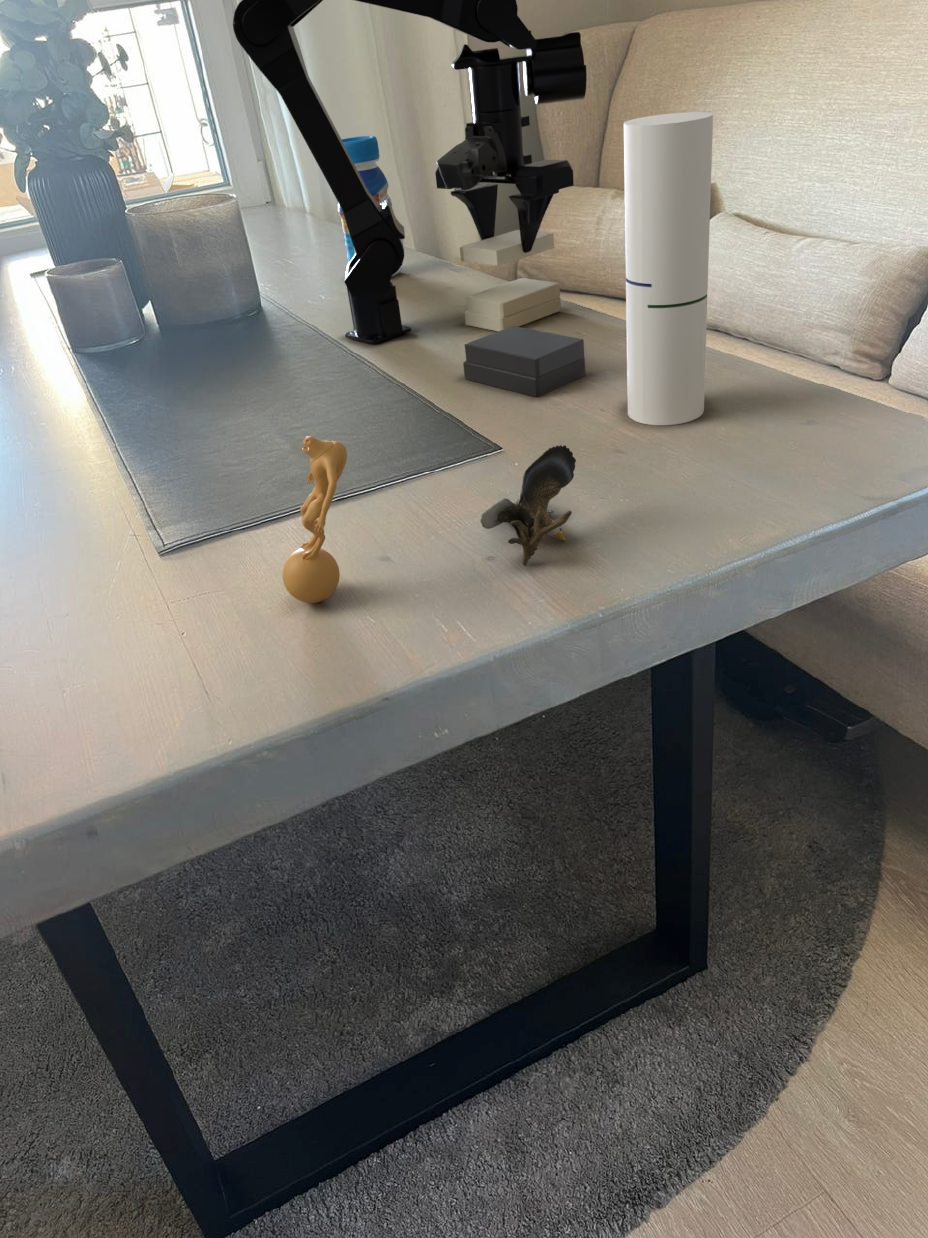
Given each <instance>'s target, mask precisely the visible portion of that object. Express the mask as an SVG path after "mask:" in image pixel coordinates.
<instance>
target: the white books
mask: <svg viewBox="0 0 928 1238" xmlns="http://www.w3.org/2000/svg"><path fill="white" fill-rule="evenodd" d="M561 299H562V298H561V284H560V283H559V282H553V281H546V280H539V279H532V278H527V277H526V278H525V277H519V278H516V279H514V280H511V281H508V282H505V283H503V284H499V285H497V286H493V287H491V288H487V289H484V290H482V291H478V292H476V293H472V294H470V295H467V296H465V303H466V310H464V318H465V325H466V326H469V327H474V328H480V329H484V330H489V331H494V332H498V331H501V330H504V329H506V328H509V327H512V326H516V327H521V326H524V325H527V324H530V323H531V322H535V321H537V320H540V319H543V318H545V317H548V316H551V315H553V314H556V313H559V312H561V311H562V304H561V303H562V300H561Z"/></svg>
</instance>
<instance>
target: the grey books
mask: <svg viewBox="0 0 928 1238" xmlns="http://www.w3.org/2000/svg"><path fill="white" fill-rule="evenodd" d="M464 351H465V361H463V362H462V364H463V374H464V379H465V380H468V381H473V382H476V383H480V384H484V385H487V386H491V387H494V388H500V389H504V390H507V391H511V392H516V393H519V394H523V395H527V396H531V397H534V398H538V397H540V396H541V397H542V395H546V394H547V393H549V392H552V391H554V390H556V389H559V388H561V387H563V386H566V385H567V384H570V383H573V382H575V381H577V380H579V379H582V378H584V377H586V359H585V340H584V338H579V337H574V336H568V335H563V334H557V333H552V332H547V331H543V330H542V331H541V330H537V329H532V328H526V327H521V326H519V327H516V326H512V327H509V328H506V329H504V330H501V331H495V332H494V333H493V332H492V333H491V334H488V335H485V336H483V337H480V338H478V339H475V340H472V341H469V342H467V343H464Z"/></svg>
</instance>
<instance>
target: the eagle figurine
mask: <svg viewBox="0 0 928 1238" xmlns="http://www.w3.org/2000/svg"><path fill="white" fill-rule="evenodd" d="M573 455H574V453H573V452H572V451H571V450H570V448H569V447H567V445H561V444H560V445H555V446H552V447H549V448H548V449H547V450H545V451H544V452H543V453H542V454H541V455H540V456H539V457H538V458H537V459H535V460H534V461H533V462H532V463H531V465H529V466H528V467H527V469H526V470H525V471H524V473H523V476H522V484H521V489H520V494H519V498H518V499H517V500H516V501H515V502H512V500H510V499H509V498H502V499H501V500H498V501H496V502H495V503H494V504H492V505H491V506H490V507H488V508H487V509H486V510H484V511H483V512H482V513H481V516H480V517H481V518H480V519H479V521H480V523H481V526H482V528H484V529H485V530H490V529H493V528H496V527H497V526H499V525H501V524H503V523H507V524H510V525H511V526H512V528H513V529H514V530H515V533H516V536H517V537H512V538H509V539H508V540H507V544H510V545H515V544H518V545H521V546H522V560H521V561H522V562H521V563H522V565H523V566H527V565H528V563H529V561H530V560H531V557H534V556H535V553H536V551H537V550H538V547H539V545H540V543H541V542H542V540H543V539H544V538H545V536H546V535H549V536H550V537H554V538H557V539H559V540H561V541H562V542H566V538H565V536H564V535H563V529H562V527H561V526H563V525H564V524H566V523H567V521H568V520H569V518H570V517H571V516H572V513H573V511H572V510H567V511H566V512H564V513H563V514H562V515H561V516H560V517H557V518H556V519H555V520H553V519H552V518H551V517H550V514H553V513H554V512H555V511H554V510H548V506H549V503H550V502H551V500H552V499H554V498H555V497H556V496H557V495H559V493H560V492H561V490H562V489H563V488H566V487H567V485H569V484H570V483H571V482H572V480H573V479H574V477H575V474H574V472H575V469H576V462H577V459H576V458H575V457H574V456H573Z"/></svg>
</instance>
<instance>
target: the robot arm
mask: <svg viewBox="0 0 928 1238" xmlns="http://www.w3.org/2000/svg"><path fill="white" fill-rule="evenodd" d="M323 1H324V0H241V1H240V2H239V3H238V4H237V6H236V8H235V10H234V12H233V19H232V29H233V33H234V35H235V38H236V40H237V42H238V44H239V45H240V47H241V48H242V49H243V51H245V52H246V54H247V55H248V57H249V58H250V59H251V61H252V62H253V64H254V65H255V66H256V68H257V69H258V70H259V71H260V72H261V73H262V75H263V76H264V77H265V78H266V79H267V81H268V82H269V83H270V84H271V85H272V86H273V88H274V89H275V90H276V91H277V93H278V94H279V96H280V97H281V99H282V101H283V103H284V105H285V106H286V108H287V111H288V112H289V114H290V116H291V117H292V119H293V121H294V123H295V126H296V127H297V129H298V131H299V132H300V134H301V136H302V139H303V140H304V142H305V143H306V145H307V147H308V149H309V151H310V153H311V154H312V156H313V158H314V160H315V162H316V164H317V166H318V167H319V169H320V171H321V173H322V175H323V177H324V178H325V180H326V182H327V184H328V186H329V188H330V189H331V192H332V194H333V195H334V197H335V199H336V201H337V204H340V206H341V208H342V211H343V214H344V217H345V220H346V224H347V227H348V231H349V234H350V237H351V240H352V243H353V246H354V249H355V252H356V254H355V255H354V257H353V258H352V260H351V261H350V262H349V263H347V265H346V271H345V276H344V285H345V286H346V290H347V297H348V302H349V308H350V314H351V320H352V325H353V326H352V327H353V330H351V331H347V332H345V333H344V338H347V339H351V340H354V341H358V342H363V343H366V344H371V345H373V344H374V345H375V344H378V343H381V342H384V341H387V340H390V339H393V338H395V337H399V336H401V335H404V334H407V333H409V332H412V327H411V326H408V325H403V323H402V315H401V309H400V303H399V299H398V294H397V287H396V285H395V284H394V282H393V281H392V278H393V276H392V275H393V274H395V273H396V272H397V271H398V270H399V269H401V267H402V266H403V263H404V259H405V243H404V240H405V238H406V232H405V227H404V225H403V224H401V222H399V220H398V218H397V216H396V215H395V212H394V209H393V205H392V206H391V203H390V200H389V199H386V200H385V201H384V202H383V203H382V204H381V205H380V204H379V203H378V202H377V201H376V199H375V198H374V197H373V196H372V195H371V193H370V192H369V191H368V189H367V188H366V186H365V184H364V182H363V180H362V178H361V176H360V174H359V172H358V170H357V168H356V166H355V164H354V163H353V161H352V159H351V157H350V155H349V153H348V151H347V149H346V147H345V145H344V143H343V141H342V140H341V139H342V138H341V136H340V134H339V132H338V130H337V128H336V126H335V124H334V123H333V121H332V119H331V117H330V115H329V112H328V111H327V109H326V107H325V105H324V103H323V101H322V99H321V96H320V95H319V93H318V92H317V90H316V87H315V86H314V84H313V82H312V80H311V77H310V76H309V73H308V70H307V66H306V62H305V60H304V57H303V56H304V55H303V53H302V50H301V46H300V44H299V40H298V37H297V34H296V32H295V29H294V27H295V26H296V25H297V24H299V23H300V22H301V21H302V20H303V19H304V18H306V16H308V15H309V14H310V13H311V12H312V11H313V10H315V9H316V8H317V6H319V5H320V4H321V3H322V2H323ZM353 1H354V2H359V3H363V4H368V5H372V6H376V7H380V8H385V9H389V10H393V11H399V12H403V13H407V14H412V15H416V16H421V17H424V18H429V19H431V20H433V21H436V22H438V23H440V24H442V25H445V26H447V27H449V28H451V29H453V30H455V31H457V32H460V33H462V34H464V35H466V36H468V37H471V38H473V39H476V40H477V41H480V42H483V43H497V42H500V43H502V44H503V45H505V46H506V47H508V48H510V49H514V50H519V51H520V50H526V54H523V55H516V56H515V55H514V56H507V57H501V56H500V51H499V48H497V47H493V48H485V49H476V50H472V49H471V48H470V47H469V45H468V44H467V43H463V44H462V47H461V49H460V52H459V54H458V55H457V57H456V58H455V59H454V60H453V61H452V63H451V67H452V68H453V69H454V70H456V71H458V70H468V73H469V85H470V97H471V98H470V99H471V108H472V119H473V121H471V122H466V123H465V125H466V126H465V128H464V135H465V138H464V140H462V142H460V143H458V144H456V145H455V146H453V147H452V148H451V149H450V150H448V151H447V152H446V153H445V154H443V155H442V156H441V157H440V158H439V159H437V161H436V165H437V168H436V170H435V172H434V174H435V183H436V189H439V190H440V189H441V190H451V191H449V195H450V196H452V197H455V198H457V200H459V201H460V202H461V203H463V204H464V205H465V206H466V208H467V210H468V212H469V214H470V216H471V218H472V221H473V224H474V226H475V229H476V231H477V233H478V236H479V238H480V239H481V240H484V239H488V238H491V237H495V230H496V216H497V202H498V191H499V189H498V188H499V184H508V185H509V184H510V185H515V187H516V189H517V190H518V192H519V193H515V194H512V195H509V196H508V198H509V200H510V201H511V202H512V203H513V205H514V206H515V208H516V210H517V218H518V227H519V230H520V238H521V244H522V249H523V252H524V253H527V252H530V251H531V250H532V247H533V244H534V241H535V239H536V236H537V233H538V232H539V230H540V228H541V225H542V222H543V219H544V217H545V214H546V211H547V210H548V208H549V206H550V204H551V202H552V200H553V197H554V195H556V194H559V193H560V190H562V189H566V188H570V187H573V186H574V184H575V183H574V182H575V181H574V167H573V166H572V164H571V163H570V162H569V160H567V159H543V160H539V161H534V162H533V157H532V154H530V153H529V154H528V153H525V146H524V145H525V144H524V130H523V129H524V127H528V126H531V123H530V115H523V114H522V113H523V111H522V99H521V98H522V97H521V81H520V66H519V63H522V73H523V74H522V75H523V87H524V94H525V96H526V97H531V96H532V95H533V100H534V102H535V105H536V106H539V105H547V104H555V103H563V102H571V101H578V100H584V99H585V98H586V97H585V96H586V92H587V80H588V79H587V74H588V73H587V65H586V64H585V55H584V51H583V46H582V37H581V36H582V35H581V34H582V33H580V32H579V31H573V32H572V31H571V32H565V33H564V34H561V35H556V36H548V37H539V38H535V37H534V35H533V34H532V30H531V29H530V30H529V29H528V28H527V27H528V26H526V25H525V23H524V22H523V21H522V19H521V18H520V17H519V15H518V11H519V9H518V4H517V3H518V2H517V0H353ZM481 240H480V241H481ZM399 271H400V270H399Z"/></svg>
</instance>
